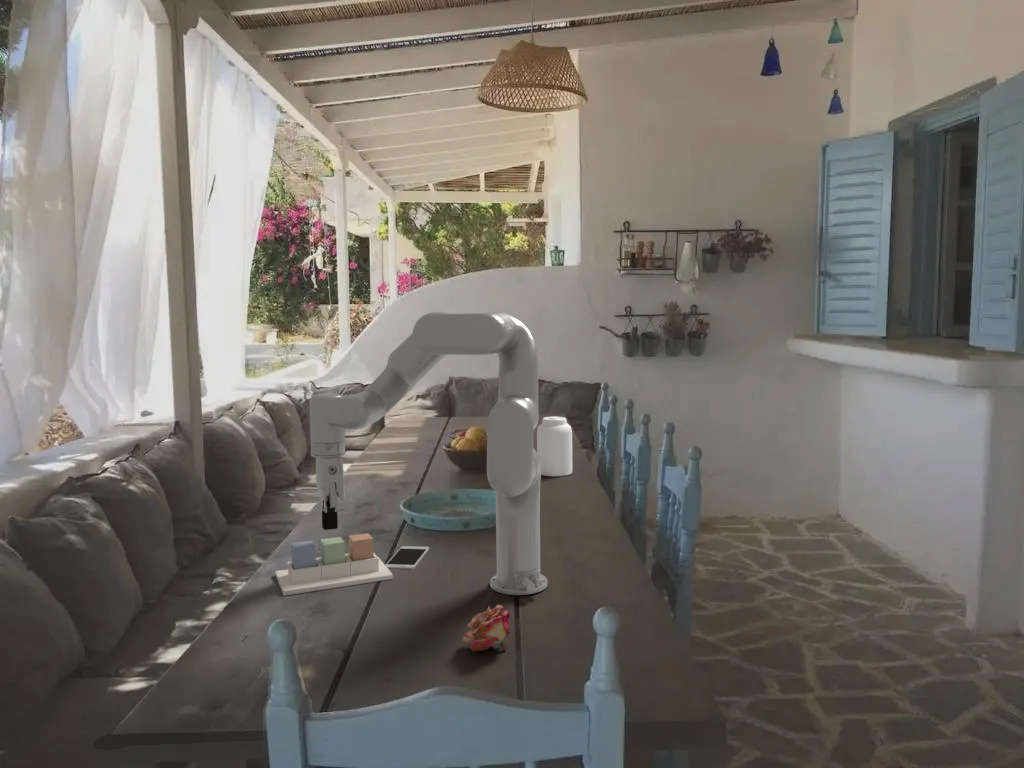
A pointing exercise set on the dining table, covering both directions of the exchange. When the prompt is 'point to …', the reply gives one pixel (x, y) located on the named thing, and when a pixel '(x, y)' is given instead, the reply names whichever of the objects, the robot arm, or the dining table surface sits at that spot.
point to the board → (332, 575)
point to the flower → (488, 629)
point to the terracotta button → (361, 547)
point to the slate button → (303, 554)
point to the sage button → (332, 550)
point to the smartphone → (407, 557)
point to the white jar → (555, 446)
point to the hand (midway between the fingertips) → (329, 528)
